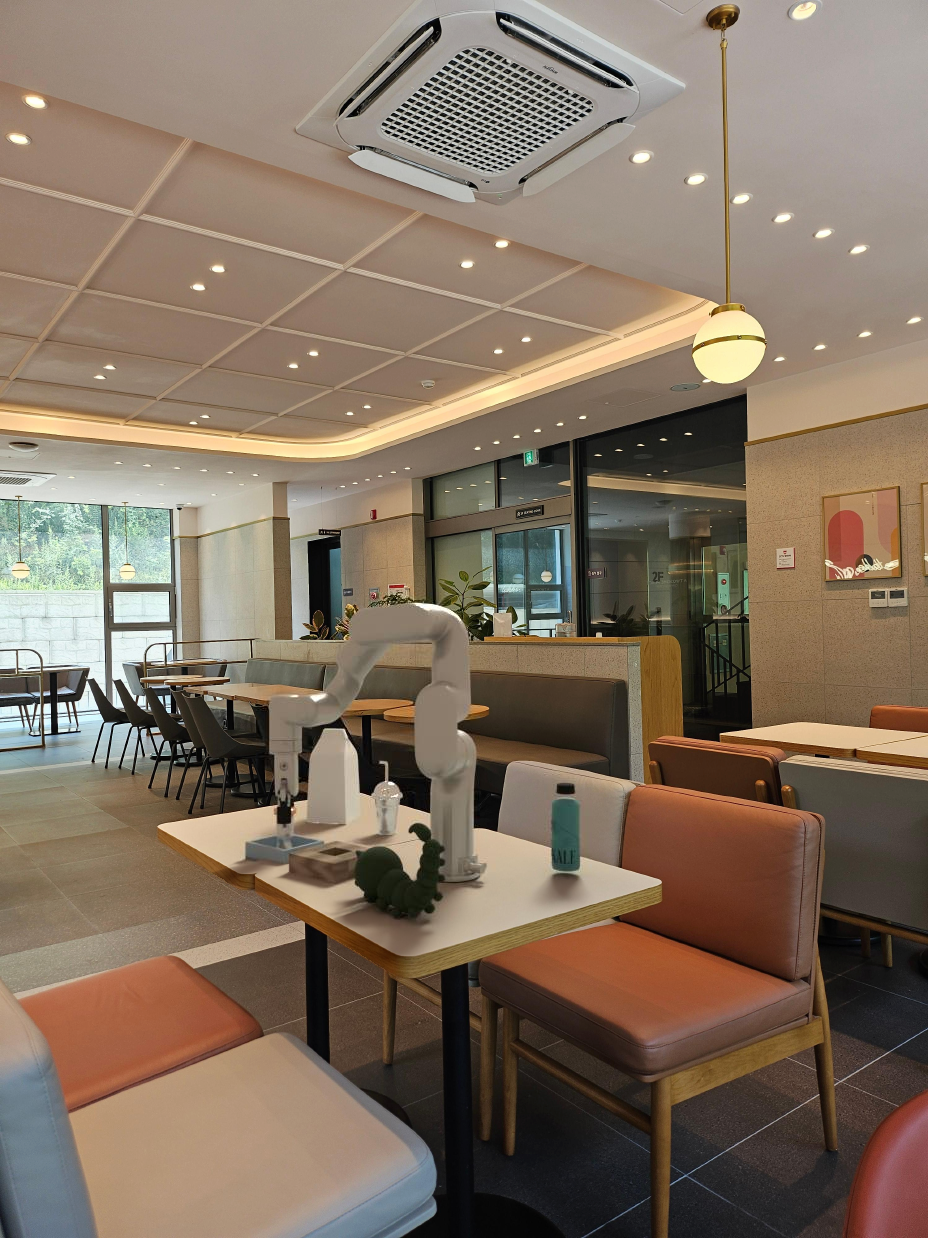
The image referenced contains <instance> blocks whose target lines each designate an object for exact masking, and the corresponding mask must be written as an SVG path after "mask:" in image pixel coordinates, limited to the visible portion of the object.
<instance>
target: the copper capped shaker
mask: <svg viewBox="0 0 928 1238" xmlns="http://www.w3.org/2000/svg"><path fill="white" fill-rule="evenodd" d="M295 814H297V808H296V807H295V806H294V807H291V823H290V824H277V807H275V808H273V815H276V816H275V820H276V821H275V822H276V825H275V827H276V829H275V833H276V834H275V835H276V848H280V849H284V850H286V849H290V848H294V835H295V832H294V823H295V822H294V818H295V816H294V815H295Z"/></svg>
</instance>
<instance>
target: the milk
mask: <svg viewBox="0 0 928 1238" xmlns="http://www.w3.org/2000/svg"><path fill="white" fill-rule="evenodd" d="M359 774H360V773H359V759H358V753H357V750H356V748H355V747H354V745H353V744H352V742H351V740H350V739H349V736H348V735H347V732H346V729H345V728H324V729H323V730H322V733H321V735H320V737H319V739H318V741H317V743H316V745H315V746H314V748H313V749H312V751H311V754H310V757H309V768H308V784H307V785H308V786H307V787H308V788H307V799H306V800H307V803H306V820H305V823H306V822H319V823H338V824H347V823H349V822H350V823H351V821H352V820H354V819H356V818H357V817H359V816H360V815H361V799H360V796H361V795H360V778H359V777H360V776H359ZM361 816H362V815H361ZM359 818H360V817H359ZM357 819H358V818H357ZM357 819H356V820H357ZM354 821H355V820H354ZM352 822H353V821H352ZM319 823H318V824H319ZM350 823H349V824H350ZM347 825H348V824H347Z"/></svg>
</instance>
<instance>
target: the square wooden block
mask: <svg viewBox="0 0 928 1238" xmlns="http://www.w3.org/2000/svg"><path fill="white" fill-rule="evenodd" d="M369 848H370V847H368V846H363V845H358V844H352V843H349V842H342V841H338V840H334V841H330V842H327V843H324V844H322V845H319V846H315V847H311V848H307V849H303V850H300V851H296V852H292V853H289V863H288V872H289V873H292V874H294V875H299V876H301V877H302V876H303V877H308V878H311V879H314V880H319V881H323V882H326V883H331V884H336V883H339V882H343V881H345V880H349V879H351V878H355V876H354V869H355V865H356V862H357V860H358V858H357V855H356V851H357V850H359V851H364V852H365V851H366V850H367V849H369Z"/></svg>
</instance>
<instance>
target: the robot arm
mask: <svg viewBox="0 0 928 1238" xmlns="http://www.w3.org/2000/svg"><path fill="white" fill-rule="evenodd" d="M347 627H348V628H347V629H348V631H347V632H348V634H349V638H348V639H347V640H346V642H345V643H344V644H343V645H342V646H341V647H340V649H339V650H338V651H337V652H336V654H335V656H334V659H335V662H336V665H337V666H338V667H337V671H336V674H335V676H334V677H333V679H332V680H331V681H330V683H329V684H328V685H327V687H325V689H324V690H323V691H322V692H319V693H311V694H304V695H298V694H292V693H290V694H288V693H287V694H285V693H284V694H274V695H272V696H271V697H270V699H269V707H268V711H269V712H268V713H269V715H268V716H269V717H268V718H269V719H268V720H269V727H268V728H269V729H268V730H269V741H268V742H269V745H268V746H269V749H268V750H269V754H270V755H274V765H273V766H274V768H273V769H274V790H275V791H274V793H275V796H276V797H277V806H276V808H277V824H290V823H291V807H295V798H294V797H296V796H297V795H298V793H299V789H300V788H299V755H298V754H301V753H302V752H303V750H302V749H303V748H302V747H303V746H302V745H303V744H302V743H303V741H302V740H303V739H302V738H303V734H302V733H303V728H313V727H317V726H321V725H322V726H323V725H328V724H331V723H333V722H335V721H336V720H338V719H339V718H340V717H341V716H342V715H343V714H344V713H345V712H346V711H347V709H348V708H349V707H350V705H352V703H353V702H354V701H355V699H356V698H357V696H358V695H359V693H360V691H361V688H362V686H363V684H364V679H366V677H367V675H368V674H369V672H370V671H371V670H372V669H373V668H374V666H375V665H376V664H377V663H378V662H379V660H380V659H382V657H383V655H385V653H386V652H387V651H388V650H389V649H390V647H391V646H392V645H397V644H406V643H407V644H409V643H431V644H432V646H433V652H432V657H431V665H430V667H431V683H430V684H427V685H426V686H424V687H423V688H421V690H420V692H419V693H418V695H417V697H416V700H415V704H414V709H413V710H414V717H413V718H414V719H413V720H414V755H415V763H416V765H417V767H418V769H419V771H420V773H422V775H424V776H425V777H426V778H429V779H431V783H430V802H429V803H430V804H429V805H430V806H429V807H430V810H429V812H430V816H429V817H430V821H429V822H430V825H429V826H430V827H429V829H430V831H431V839H435V840H437V841H438V842H439V843H440V845H443V846H444V847H445V851H444V852H442V853H440V855H439V856H440V858H443V859H445V865H444V866H440V868H439V869H438V870H439V873H440V874H443V875H444V876H445V881H444V882H443V883H456V882H457V883H461V882H467V881H471V880H475V879H477V878H479V877H480V876H481V875H484V874H485V871H486V869H487V866H488V864H487V863H486V862H483V861H479V859H478V857H479V856H478V854H476V853H474V852H475V851H474V850H475V849H474V848H475V847H474V845H475V844H474V843H475V842H474V841H475V840H474V821H475V820H474V813H475V810H474V809H475V808H474V804H475V803H474V800H475V797H474V796H475V792H474V791H475V790H474V789H475V774H476V768H477V767H476V766H477V747H476V744H475V742H474V739H473V738H472V737H471V736H470V735H469V734H468V733H466V732H465V731H463V730H460V729H458V723H461V722H462V721H464V720H465V719H466V718H467V717H468V715H469V713H470V712H471V706H472V696H471V695H472V693H471V666H470V665H471V664H470V663H471V662H470V638H469V633H468V630H467V627H466V625H465V623H464V621H463V620H462V619H461V618H460V617H459V615H458V614H456V613H455V612H453V611H452V610H450V609H449V608H446V607H443V606H441V605H438V604H432V603H423V602H421V603H420V602H406V603H397V604H392V605H384V606H374V607H365V608H361V609H359V610H358V611H356V612H355V613H354V614H353V615H352V616H351V618H350V620H349V622H348V626H347Z"/></svg>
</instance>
